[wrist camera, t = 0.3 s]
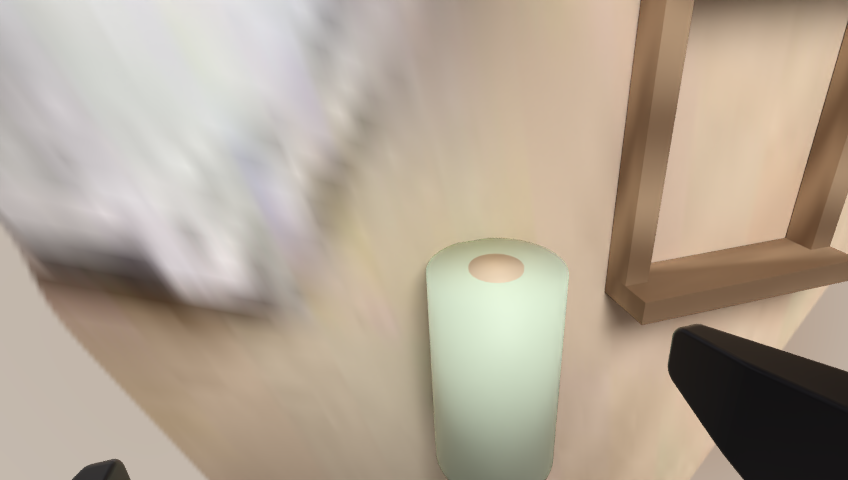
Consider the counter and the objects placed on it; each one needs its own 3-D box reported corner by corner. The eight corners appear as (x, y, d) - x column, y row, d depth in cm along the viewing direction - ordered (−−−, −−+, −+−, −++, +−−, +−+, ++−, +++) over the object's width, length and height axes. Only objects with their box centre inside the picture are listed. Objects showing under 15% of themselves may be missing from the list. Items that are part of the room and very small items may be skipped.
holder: (797, 254, 28) (850, 280, 26) (604, 292, 26) (641, 325, 23) (903, -90, 21) (991, -103, 19) (651, -83, 19) (712, -96, 16)
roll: (522, 398, 28) (575, 483, 23) (423, 421, 27) (456, 516, 22) (530, 228, 23) (597, 289, 18) (411, 247, 22) (449, 318, 17)
